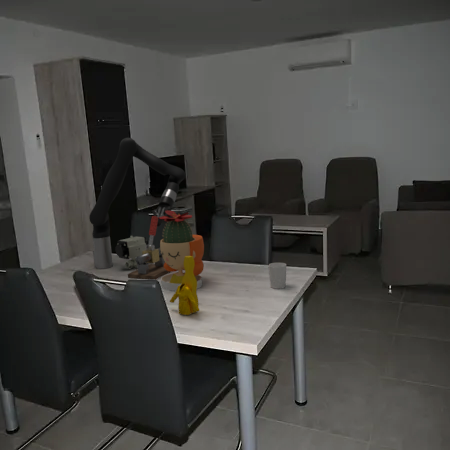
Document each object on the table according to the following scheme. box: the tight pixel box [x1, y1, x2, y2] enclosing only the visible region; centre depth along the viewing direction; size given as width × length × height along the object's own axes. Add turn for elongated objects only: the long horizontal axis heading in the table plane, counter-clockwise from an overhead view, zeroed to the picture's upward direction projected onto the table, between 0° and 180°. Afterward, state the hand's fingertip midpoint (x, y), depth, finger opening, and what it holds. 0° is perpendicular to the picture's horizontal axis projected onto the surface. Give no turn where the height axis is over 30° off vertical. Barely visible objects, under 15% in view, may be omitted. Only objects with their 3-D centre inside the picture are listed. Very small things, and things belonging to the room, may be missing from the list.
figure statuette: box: [169, 256, 200, 316], centre depth 171 cm, size 18×8×22 cm, turn 44°
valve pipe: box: [135, 244, 165, 275], centre depth 231 cm, size 6×20×13 cm, turn 155°
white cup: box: [268, 262, 287, 290], centre depth 198 cm, size 8×8×10 cm
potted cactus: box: [159, 210, 205, 292], centre depth 209 cm, size 22×22×35 cm
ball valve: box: [114, 235, 149, 270], centre depth 245 cm, size 18×8×18 cm, turn 139°
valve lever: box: [147, 215, 158, 249], centre depth 232 cm, size 2×2×17 cm
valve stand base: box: [127, 263, 172, 280], centre depth 232 cm, size 16×20×2 cm
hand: (157, 225), depth 235 cm, fingers closed
